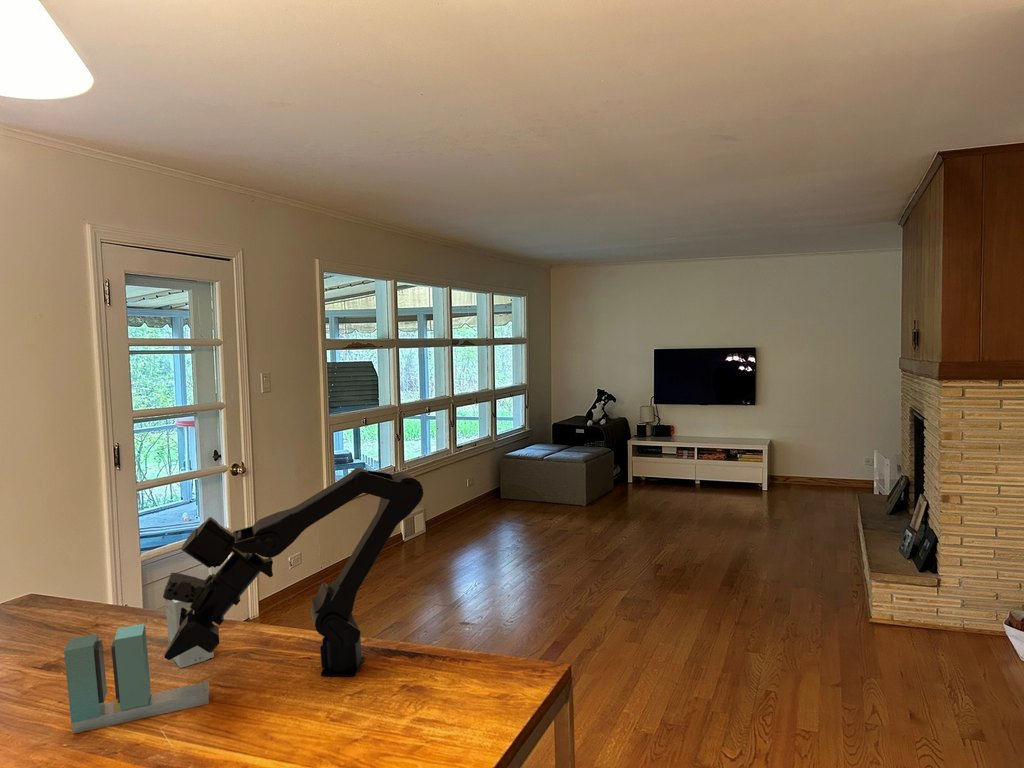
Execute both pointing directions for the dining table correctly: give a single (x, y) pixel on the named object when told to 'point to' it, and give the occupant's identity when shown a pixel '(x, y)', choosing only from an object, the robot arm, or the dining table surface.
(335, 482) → the robot arm
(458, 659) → the dining table surface
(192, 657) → the small box
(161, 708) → the rail
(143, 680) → the tall teal pillar
